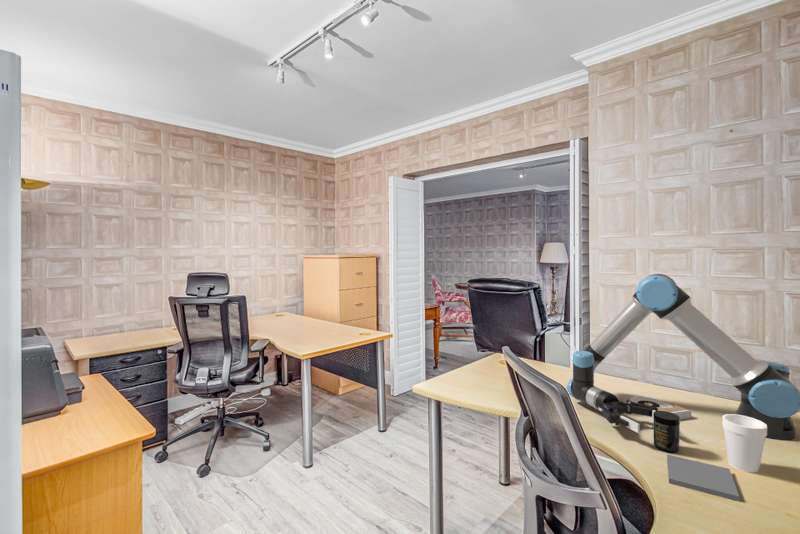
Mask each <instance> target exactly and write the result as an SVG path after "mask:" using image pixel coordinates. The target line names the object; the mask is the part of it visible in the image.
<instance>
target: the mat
mask: <svg viewBox="0 0 800 534" xmlns="http://www.w3.org/2000/svg"><path fill="white" fill-rule="evenodd" d="M666 460H667V463H666V464H667V475H668V476H667V477H668V484H671V485H676V486H679V487H684V488H687V489H691V490H693V491H698V492H703V493H705V494H710V495H713V496H717V497H722V498H725V499H729V500H733V501H736V502H740V495H739V492H738V489H737V487H736V484H735V483H736V482H735V481H734V478H733V476H732V475H733V474H732V473H731V470H730V468H728V467H723V466H720V465H716V464H715V465H714V464H710V463H706V462H701V461H697V460H693V459H688V458H684V457H679V456H676V455H675V456H674V455H671V454H666Z"/></svg>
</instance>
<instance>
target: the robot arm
mask: <svg viewBox="0 0 800 534" xmlns="http://www.w3.org/2000/svg"><path fill="white" fill-rule="evenodd" d="M631 297H632V299H631V301H630V302H629V303H628V304H627V305H626V306H625V307H624V309H622V310H621V311H620V312H619V314H618V315H617V316H616V317H614V319H613V320H612V321H611V322H610V323H608V325H607V326H606V327H605V328H604V329H603V330H602V331H601V333H599V335H597V336H596V338H595V339H594V340H593V341H592V342H591V343H590V344H589V345H588V346H587V347H586V348H585V349H584V350H576V351H574V352H573V354H572V378H571V379H570V380H569V381H568V382H567V385H566V391H567V393H568V392H569V393H568V394H569V396H571V397H573V398H574V399H575V400H577V401H580V402H582V403H585V404H586V405H588V406H590V407H592V408H594V409H595V410H598V413H600V414H601V415H602V416H604V418H605V419H606V421H607V422H608V423H609V424H614V423H615V426H617V427H620V425H622V426H623V427H625V428H627V429H630V430H632V431H633V432H635V433H637V434H639V433H640V428H641V427H640V423H638V422H637V421H634V420H632V419H630V418H628V417H626V416H624V415H622V414H626V415H632V414H635V415H640V416H645V417H650V418H651V419H653V414H654V412H655V411H658V408H655V407H651V406H647V405H643V404H639V403H635V402H632V401H630V399H628V400H627V399H626V401H625V402H624V401H622V400H619V398H618V397H617V395H616V394H614V393H611V392H609V391H607V390H605V389H603V388H599V387H597V386H595V385H594V384H595V380H594V379H595V370H596V368H597V367H598V366H599V365H601V363H602V362H603V361H604V360H605V359H606V358H607V357H608V356H609V354H611V353H612V352H613V351H614V350H615V349H616V348H617V347H618V346H619V345H620V344H621V343H622V342H623V341H624V340H625V339H626V338H627V337H628V336H629V335H630V334H631V333H632V332H633V331H634V330H635V329H636V328H637V327H638V326H639V325H640V324H641V323H642V322H643V321H644V320H645V319H646V318H647V317H648V316H649V315H650V314H652V313H653V314H655V315H656V316H657V317H658V318H659V319H660V320H665V321H666V320H667V321H669V322H670V323H672V325H673V326H674V327H676V328H677V329H678V330H679V331H680V332H681V333H682V334H683V335H685V337H687V338H688V340H690V341H692V343H694V345H696V346H697V347H698V348H699V349H700V350H701V351H702V352H704V354H705V355H706V356H708V357H709V358H710V359H711V360H712V361H713V362H714V363H716V365H718V366H719V367H720V368H721V369H722V370H723V371H724V372H725V373H727V375H728V376H730V378H731V385H732V386H733V387H735V388H736V389H737V391H739V392H740V403H739V405H738V407H737V409H736V412H735V413H734V414H736V415H743V416H747V417H751V418H755V419H757V420H760V421H762V422H763V423H765V424H767V436H766V438H769V439H775V440H791V439H792V440H793V439H795V438H796V434H797V429H796V428H795V425H794V421H793V420H792V416H794V415H796V414H798V412H800V390H799V389H798V388H797V387H796V386H795V385H794V384H793V383H792V382H791V380H790V375H791V372H790V368H789V367H788V365H786V364H783V363H778V362H772V361H764V360H756V359H755V357H753V356H752V355H751V354H750V353H748V352H747V351H746V350H745V349H743V347H741V345H739V344H738V343H736V341H734V339H732V338H731V337H730V336H729V335H727V334H726V333H725V332H724V331H723V330H722V329H720V327H718V326H717V325H716V324H715V323H714V322H713V321H711V320H710V319H709V318H708V317H707V316H706V315H704V313H702V312H701V311H700V310H699V309H697V307H695V306H694V305H693V304H692V302H691V301H692V300H691V299H692V297H691V296H690V295H689V294H688V293H686V292H685V291H684V290H683V289H682V288H680V287H679V285H677V283H676V282H675V280H674V279H673V278H671V277H670V276H668V275H666V274H663V273H655V274H650V275H648V276H646V277H645V278H644V279H642V280H641V281H640V282H639V283H638V284H637V287H636V291H635V292H634V294H633V295H632V296H631Z"/></svg>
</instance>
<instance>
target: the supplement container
mask: <svg viewBox="0 0 800 534" xmlns="http://www.w3.org/2000/svg"><path fill="white" fill-rule="evenodd" d="M652 419H653V436H652V437H653V442H652V443H653V446H654V447H655V448H656V449H657V450H659V451H661V452H665V453H669V454H676V453H678V452H679V451H680V439H681V438H680V437H681V436H680V431H681V430H680V429H681V428H680V426H681V425H680V424H681V419H680V417H679V416H678V415H676V414H674V413H671V412H666V411H655V412H654V414H653V418H652Z"/></svg>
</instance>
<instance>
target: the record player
mask: <svg viewBox="0 0 800 534" xmlns="http://www.w3.org/2000/svg"><path fill="white" fill-rule="evenodd" d="M629 401H632V402H635V403H639V404H643V405H647V406H651V407H655V408H658V411H666V412H671V413H674V414H676V415H678V416H679V417H680V420H687V419H691V418H692V411H691V410H689V409H686V408H684V407H682V406H679V405H676V404H674V406H673V405H672V404H669V403H667V402H665V401H662V400H659V399H657V398H654V397H649V396H641V395H640V396H632V397H630V398H629Z"/></svg>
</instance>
